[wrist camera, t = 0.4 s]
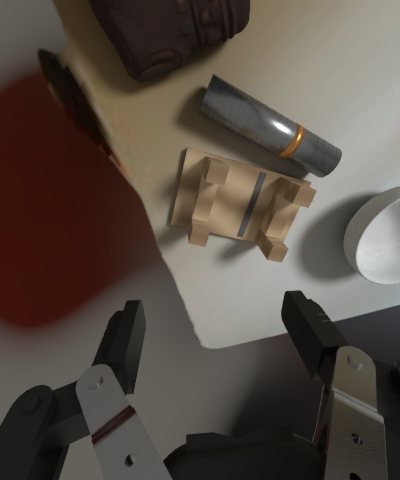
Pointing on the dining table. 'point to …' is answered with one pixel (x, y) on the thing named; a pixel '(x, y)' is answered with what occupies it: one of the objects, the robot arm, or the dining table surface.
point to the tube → (268, 128)
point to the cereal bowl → (376, 239)
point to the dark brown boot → (167, 30)
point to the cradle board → (238, 202)
